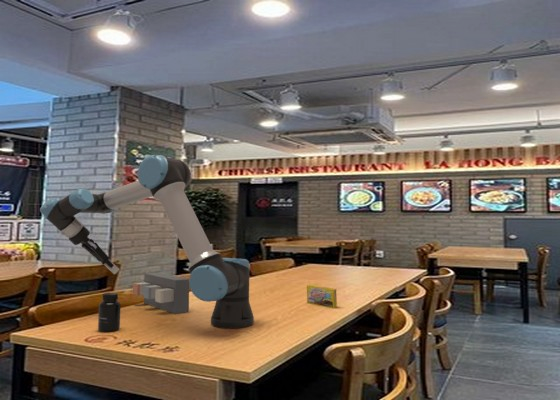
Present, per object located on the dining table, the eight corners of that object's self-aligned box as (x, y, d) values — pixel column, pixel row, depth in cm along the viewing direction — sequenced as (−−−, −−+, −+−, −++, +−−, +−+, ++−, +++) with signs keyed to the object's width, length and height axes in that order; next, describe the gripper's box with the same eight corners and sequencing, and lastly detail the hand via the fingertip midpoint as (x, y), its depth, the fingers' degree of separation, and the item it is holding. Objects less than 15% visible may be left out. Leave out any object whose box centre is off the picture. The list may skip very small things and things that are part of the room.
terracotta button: (137, 295, 191) (137, 284, 191) (132, 294, 194) (133, 283, 194) (155, 293, 196) (155, 282, 196) (150, 292, 199) (150, 281, 200)
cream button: (160, 303, 174) (160, 290, 174) (155, 301, 177) (155, 289, 178) (179, 300, 179) (179, 289, 179) (173, 299, 183) (174, 287, 183)
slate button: (148, 299, 182) (148, 287, 182) (143, 297, 186) (143, 286, 186) (166, 297, 187) (166, 285, 188) (161, 295, 191) (161, 284, 191)
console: (175, 314, 176) (175, 280, 177) (143, 303, 198) (144, 273, 199) (188, 312, 180) (189, 279, 181) (156, 301, 202) (157, 272, 203)
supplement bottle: (96, 333, 146) (97, 295, 147) (99, 328, 153) (100, 292, 153) (119, 331, 148) (120, 294, 149) (120, 327, 155) (121, 291, 155)
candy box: (306, 303, 201) (306, 284, 201) (309, 303, 202) (309, 284, 203) (333, 309, 189) (333, 289, 189) (337, 308, 190) (337, 288, 191)
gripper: (63, 238, 181) (104, 277, 191) (73, 239, 171) (116, 280, 181) (77, 224, 184) (117, 263, 195) (88, 225, 175) (129, 266, 185)
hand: (116, 271), depth 188 cm, fingers closed
